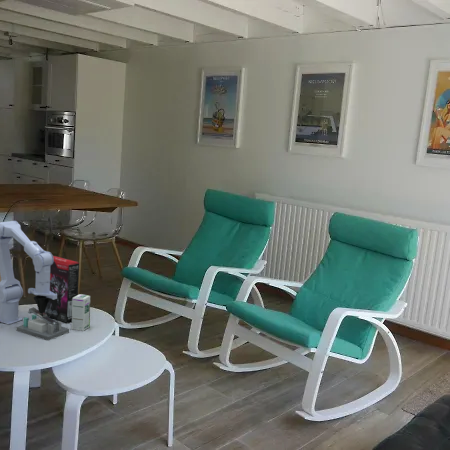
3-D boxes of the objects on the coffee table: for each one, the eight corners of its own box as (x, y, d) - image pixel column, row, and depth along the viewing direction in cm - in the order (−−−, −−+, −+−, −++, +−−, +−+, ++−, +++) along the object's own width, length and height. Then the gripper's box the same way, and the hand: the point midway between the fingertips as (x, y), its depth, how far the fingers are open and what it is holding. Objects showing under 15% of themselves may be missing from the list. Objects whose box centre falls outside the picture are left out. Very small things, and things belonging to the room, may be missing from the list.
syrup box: (83, 331, 226) (85, 298, 224) (71, 329, 227) (72, 297, 225) (89, 327, 231) (91, 295, 229) (77, 325, 232) (78, 293, 230)
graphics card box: (40, 315, 241) (42, 257, 237) (52, 311, 247) (54, 255, 243) (66, 324, 233) (68, 264, 229) (78, 320, 239) (80, 261, 235)
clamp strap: (27, 312, 222) (29, 308, 222) (32, 311, 225) (34, 306, 224) (52, 328, 217) (53, 323, 216) (57, 327, 219) (58, 322, 219)
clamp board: (16, 330, 221) (16, 318, 220) (38, 322, 231) (38, 311, 231) (48, 340, 213) (48, 327, 212) (69, 332, 223) (69, 320, 223)
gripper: (22, 279, 218) (22, 311, 220) (48, 286, 212) (47, 318, 214) (35, 276, 224) (34, 307, 226) (61, 283, 218) (60, 314, 220)
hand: (42, 312), depth 220 cm, fingers closed
